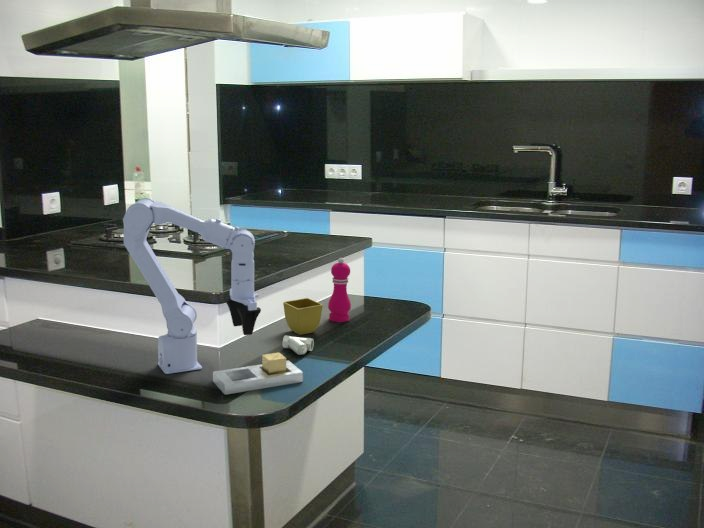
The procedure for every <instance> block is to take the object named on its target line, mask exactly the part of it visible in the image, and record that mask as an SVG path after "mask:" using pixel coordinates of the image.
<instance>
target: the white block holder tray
mask: <svg viewBox="0 0 704 528" xmlns="http://www.w3.org/2000/svg"><path fill="white" fill-rule="evenodd" d="M303 381H304V372H303V371H302V370H301V369H300V368H298V367H297V366H296V365H295V364H294V363H293V362H292V361H290V360H287V359H286V373H281V374H274V375H267V374H266V373H265V372H264V371H263V370H262V364H257V365H255V364H254V365H247V366H242V367H234V368H228V369H222V370H214V371H212V382H213V383H214V384H215V385H216V386H217V388H218V389H219V391H221V393H222V394H224V395H230V394H231V395H232V394H237V393H244V392H250V391H256V390H262V389H267V388H275V387H280V386H285V385H286V386H287V385H291V384H298V383H302V382H303ZM303 383H304V382H303Z"/></svg>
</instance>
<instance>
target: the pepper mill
mask: <svg viewBox="0 0 704 528" xmlns="http://www.w3.org/2000/svg"><path fill="white" fill-rule="evenodd" d="M337 261H338V262H337V263H334V264H333V265H332V266H331V269H330V272H331V273H330V274H331V275H332V276H333V277H332V280H331V281H332V284H333V290H332V294H331V296H330V298H329V301H328V304H327V305H328V306H327V308H328V310H329V311H330V313H329V317H328V318H329V321H331V322H335V323H346V322H348V321H349V320H350V314H349V312H350V311H351V309H352V304H351V300H350V297H349V295H348V291H347V286H348V283H349V276H350V274H351V268H350V266H349V265H348V264H347V263H346V262H345V260H344V258H343V257H339V258H338V260H337Z"/></svg>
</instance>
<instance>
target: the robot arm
mask: <svg viewBox="0 0 704 528" xmlns="http://www.w3.org/2000/svg"><path fill="white" fill-rule="evenodd" d="M122 223H123V245H124V247H125V249H126V250H127V253H129V255H130V256H131V258H132V260H133V261H134V263H135V265H136V266H137V268H138V270H139V272H140V273H141V274H142V276H143V278H144V280H145V281H146V283H147V285H148V286H149V288H150V289H151V291H152V293H153V294H154V296H155V297H156V299H157V301H158V303H159V304H160V306H161V310H162V312H161V313H162V315H163V317H164V318H165V322H166V329H167V333H166V334H164V335H159V336H158V339H157V356H158V357H157V358H158V362H157V365H158V366H159V368H160V370H162V372H163V374H165V375H169V374H176V373H183V372H190V371H197V370H202V369H203V366H202V365H201V364H200V362H198V344H197V343H198V340H197V339H198V337H197V333H198V332H197V329H196V328H195V325H194V323H195V321H196V320H197V316H198V315H197V311H196V308H195V307H194V306H193V305H192V304H190V303H188V302H187V301H186V299H185V298H184V297H183V296H182V295H181V294H180V293H178V292H179V291H177V289H176V287H175V285H174V283H173V282H172V281H171V279H170V278H169V275H168V274H167V272H166V270H165V269H164V267H163V266H162V264H161V262H160V261H159V259H158V258H157V255H156V254H155V252H154V251H153V249H152V247H151V246H150V244H149V242H148V241H147V240H148V239H147V238H148V235H149V233H150V230H151V227H152V225H153V224H154V225H155V226H158V225H162V224H167V223H169V224H172V225H175V226H177V227H181V228H184V229H186V230H189V231H193V232H195V233H198V234H199V235H200V237H201V238H202V240H203V241H205V242H207V243H211V244H213V245H215V246H218V247H221V248H223V249H226V250H228V249H229V250H230V251H231V255H232V256H231V259H232V260H231V261H230V262H231V266H230V267H231V271H230V273H231V276H230V277H231V278H230V279H231V281H230V282H231V285H230V286H231V288H229V297H230V298H226V299H225V303H226V305H227V307H228V309H229V313H230V317H231V321H232V325H233V327H235V328H236V327H241V328H242V334H243V335H244V336H251V335H253V333H254V329H255V325H256V322H257V318H258V317H259V315H260V313H261V311H262V309H261V307H259V306H258V303H257V301H256V299H257V298H259V294H258V293H257V292H255V260H254V258H255V253H254V250H255V245H256V244H255V243H256V239H255V236H254V235H253V233H252V232H251V231H249V230H248V229H246V228H240V227H239V226H237V225H236V226H235V227H234V226H232V225H230V224H227V223H224V222H223V221H222V219H221V218H218V217H216V219H214V218H209V219H207V220H203V219H201V218H198V217H197V216H194V215H192V214H189V213H187V212H186V211H185V212H184V211H182V210H181V209H178V208H176V207H174V206H171V205H169V204H166V203H165V202H162V201H157V200H156V201H154V200H153V199H151V198H148V197H143V198H140V199H138V200H136V201H135V202H134V203H132V204H131V205H129V206H128V208H127V209H126V210H125V214H124V216H123V218H122ZM257 306H258V307H257Z"/></svg>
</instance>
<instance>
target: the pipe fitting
mask: <svg viewBox="0 0 704 528" xmlns="http://www.w3.org/2000/svg"><path fill="white" fill-rule="evenodd" d="M314 345H315V342H314V338H311V337H299V336H298V337H297V336H290V335H284V336H283V338H282V348H283V349H290V350H292V352H294V353H295V354H297V355H298V356H300V355H306V353H307V352H312V351H313V349H314Z"/></svg>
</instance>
